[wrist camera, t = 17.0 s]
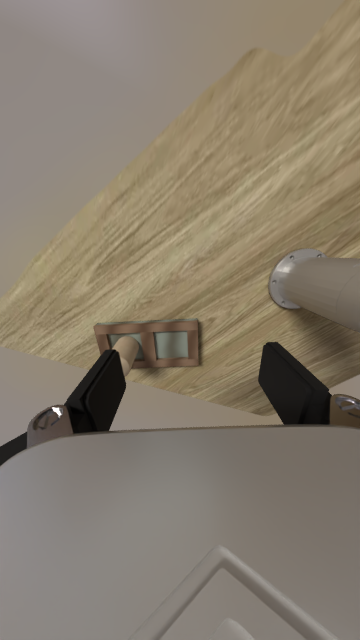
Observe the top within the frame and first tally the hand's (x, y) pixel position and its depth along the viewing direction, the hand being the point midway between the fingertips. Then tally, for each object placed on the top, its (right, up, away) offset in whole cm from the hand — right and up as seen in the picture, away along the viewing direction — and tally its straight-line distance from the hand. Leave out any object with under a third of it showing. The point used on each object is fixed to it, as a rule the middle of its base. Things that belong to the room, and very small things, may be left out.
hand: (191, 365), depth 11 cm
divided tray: (-8, -3, +32) cm, 33 cm away
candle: (-14, -3, +31) cm, 34 cm away
